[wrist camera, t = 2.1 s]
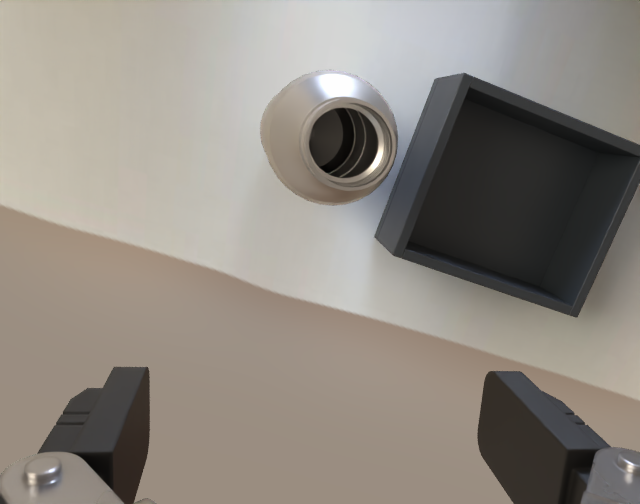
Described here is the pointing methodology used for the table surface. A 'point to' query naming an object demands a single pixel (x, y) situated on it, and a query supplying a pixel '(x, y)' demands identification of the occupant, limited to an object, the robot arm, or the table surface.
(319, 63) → the table surface
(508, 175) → the tub
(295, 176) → the silver metal bottle
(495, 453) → the robot arm
